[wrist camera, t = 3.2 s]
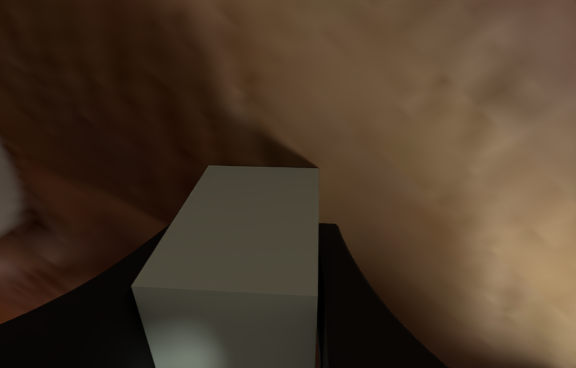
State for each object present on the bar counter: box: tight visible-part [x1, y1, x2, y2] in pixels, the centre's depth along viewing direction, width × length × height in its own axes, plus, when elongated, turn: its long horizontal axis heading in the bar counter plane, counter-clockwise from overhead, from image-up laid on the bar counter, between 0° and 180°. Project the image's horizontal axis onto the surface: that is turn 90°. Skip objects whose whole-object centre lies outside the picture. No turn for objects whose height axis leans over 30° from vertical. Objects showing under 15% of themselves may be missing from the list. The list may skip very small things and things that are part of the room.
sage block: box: [131, 165, 319, 368], centre depth 11 cm, size 4×4×6 cm
